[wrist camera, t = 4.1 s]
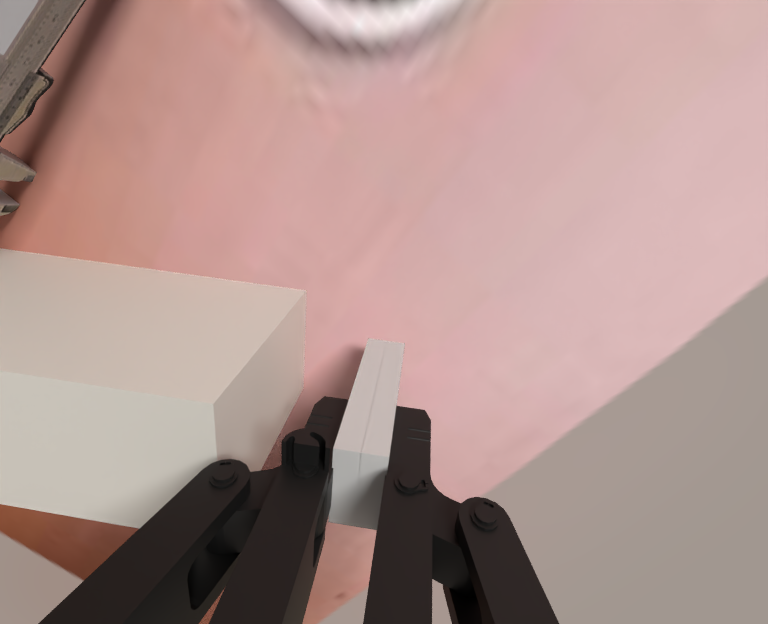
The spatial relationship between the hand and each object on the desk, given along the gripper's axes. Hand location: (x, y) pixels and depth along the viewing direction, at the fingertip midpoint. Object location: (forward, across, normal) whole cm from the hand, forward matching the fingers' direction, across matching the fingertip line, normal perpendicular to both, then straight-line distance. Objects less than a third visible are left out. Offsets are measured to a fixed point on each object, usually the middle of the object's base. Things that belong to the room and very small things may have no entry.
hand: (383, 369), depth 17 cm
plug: (+2, -12, 0) cm, 12 cm away
